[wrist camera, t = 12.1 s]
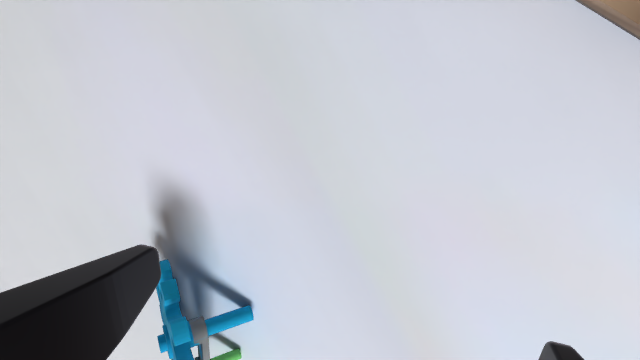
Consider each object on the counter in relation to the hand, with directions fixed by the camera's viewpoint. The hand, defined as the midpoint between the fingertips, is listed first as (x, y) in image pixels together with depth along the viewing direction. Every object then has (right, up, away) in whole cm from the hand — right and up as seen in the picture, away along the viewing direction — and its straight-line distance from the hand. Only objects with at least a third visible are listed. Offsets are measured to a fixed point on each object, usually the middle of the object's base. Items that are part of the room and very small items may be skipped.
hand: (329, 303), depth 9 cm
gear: (-8, -6, +19) cm, 22 cm away
